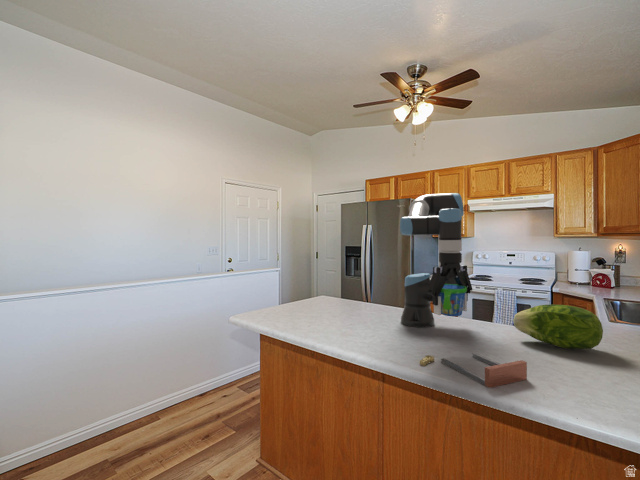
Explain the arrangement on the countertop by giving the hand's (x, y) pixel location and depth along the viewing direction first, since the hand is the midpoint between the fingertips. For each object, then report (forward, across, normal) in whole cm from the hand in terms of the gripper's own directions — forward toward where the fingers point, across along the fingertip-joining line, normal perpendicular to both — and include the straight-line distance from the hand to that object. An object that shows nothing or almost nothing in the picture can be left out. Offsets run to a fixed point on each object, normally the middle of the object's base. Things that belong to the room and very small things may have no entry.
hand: (450, 312), depth 113 cm
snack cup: (+1, 0, 0) cm, 1 cm away
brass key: (+13, +16, +6) cm, 22 cm away
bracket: (+13, +5, +16) cm, 22 cm away
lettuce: (+14, -38, +12) cm, 43 cm away
